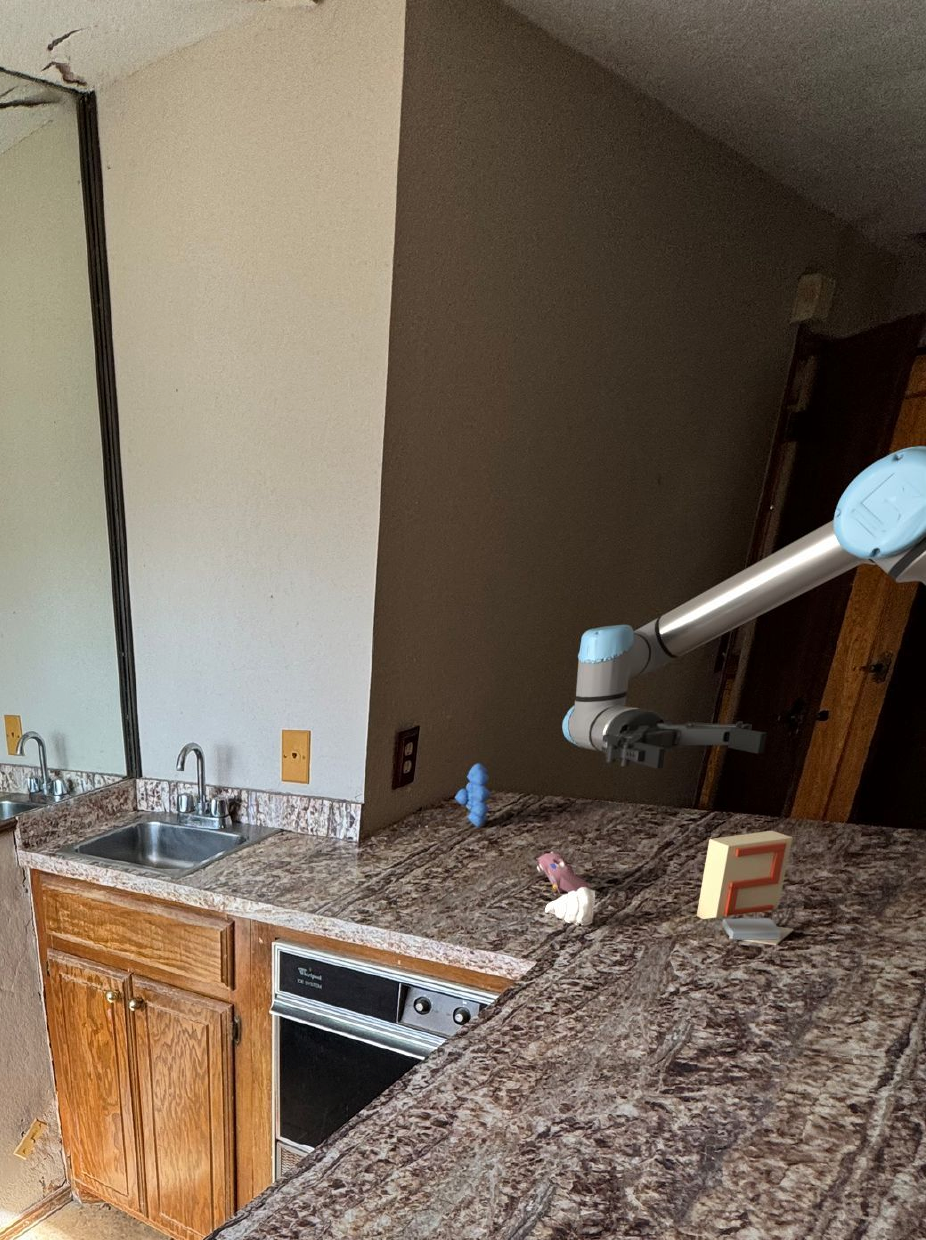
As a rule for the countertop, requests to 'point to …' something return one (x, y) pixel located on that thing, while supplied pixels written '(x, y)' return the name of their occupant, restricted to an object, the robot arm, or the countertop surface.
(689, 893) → the countertop surface
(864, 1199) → the countertop surface
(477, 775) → the grapes
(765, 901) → the cream digit block
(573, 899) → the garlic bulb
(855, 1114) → the countertop surface
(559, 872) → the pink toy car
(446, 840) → the countertop surface
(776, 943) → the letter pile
